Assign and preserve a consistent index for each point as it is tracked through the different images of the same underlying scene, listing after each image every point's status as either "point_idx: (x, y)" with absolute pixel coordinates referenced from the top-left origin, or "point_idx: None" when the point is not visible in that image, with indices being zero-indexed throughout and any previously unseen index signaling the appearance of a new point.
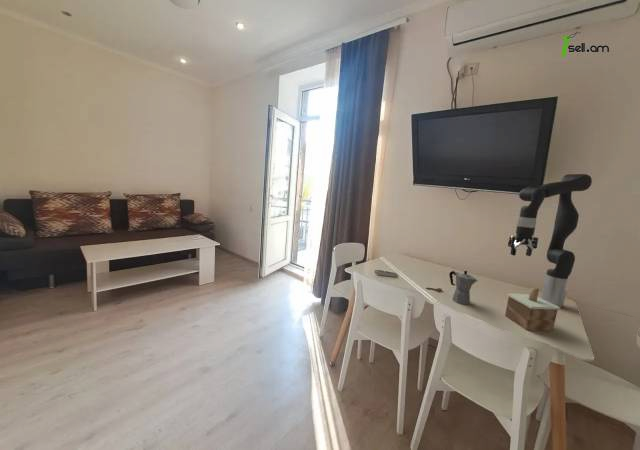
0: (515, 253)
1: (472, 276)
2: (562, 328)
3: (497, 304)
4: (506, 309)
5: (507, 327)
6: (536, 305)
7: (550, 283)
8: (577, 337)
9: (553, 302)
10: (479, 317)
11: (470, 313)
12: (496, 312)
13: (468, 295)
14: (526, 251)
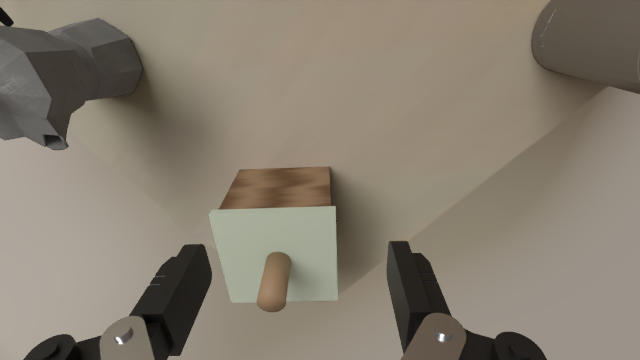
0: (200, 300)
1: (41, 87)
2: (381, 222)
3: (271, 72)
4: (233, 183)
5: (204, 232)
6: (257, 294)
7: (626, 59)
8: (376, 257)
9: (555, 68)
10: (140, 188)
11: (116, 166)
12: (222, 147)
13: (101, 97)
14: (399, 274)
